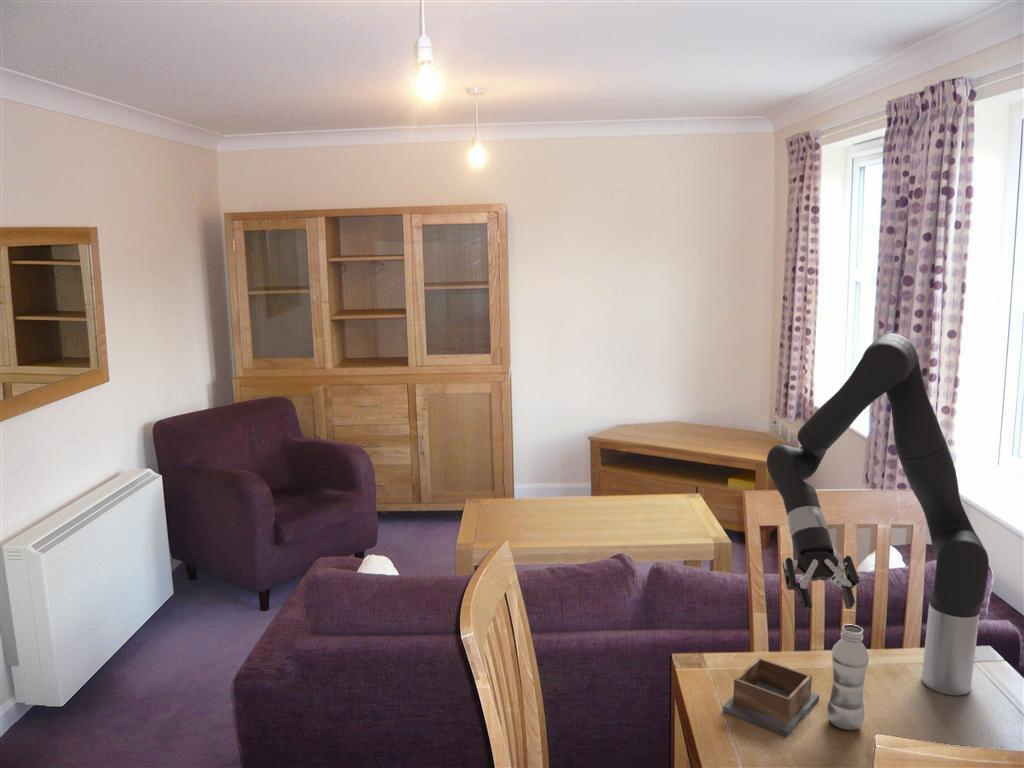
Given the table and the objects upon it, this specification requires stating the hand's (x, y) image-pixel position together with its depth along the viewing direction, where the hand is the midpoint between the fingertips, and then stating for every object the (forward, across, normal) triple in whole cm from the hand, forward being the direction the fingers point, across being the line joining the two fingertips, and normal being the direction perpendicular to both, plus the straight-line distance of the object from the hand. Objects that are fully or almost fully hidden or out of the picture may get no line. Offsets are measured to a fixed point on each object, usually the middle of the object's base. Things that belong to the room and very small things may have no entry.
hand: (829, 608), depth 172 cm
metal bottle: (+21, 0, +7) cm, 22 cm away
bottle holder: (+15, -12, +12) cm, 23 cm away
